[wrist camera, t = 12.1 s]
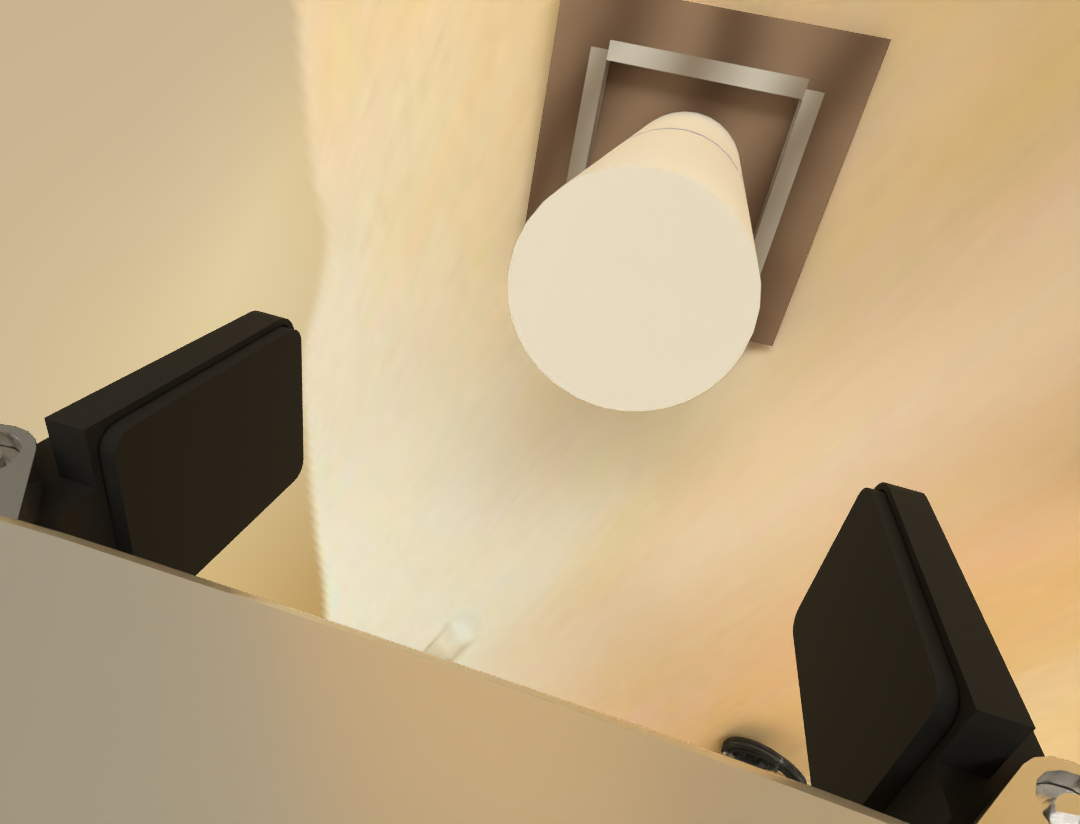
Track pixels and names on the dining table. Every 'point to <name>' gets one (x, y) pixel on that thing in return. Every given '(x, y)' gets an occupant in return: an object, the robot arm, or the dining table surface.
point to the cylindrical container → (641, 270)
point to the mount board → (714, 109)
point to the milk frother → (760, 757)
